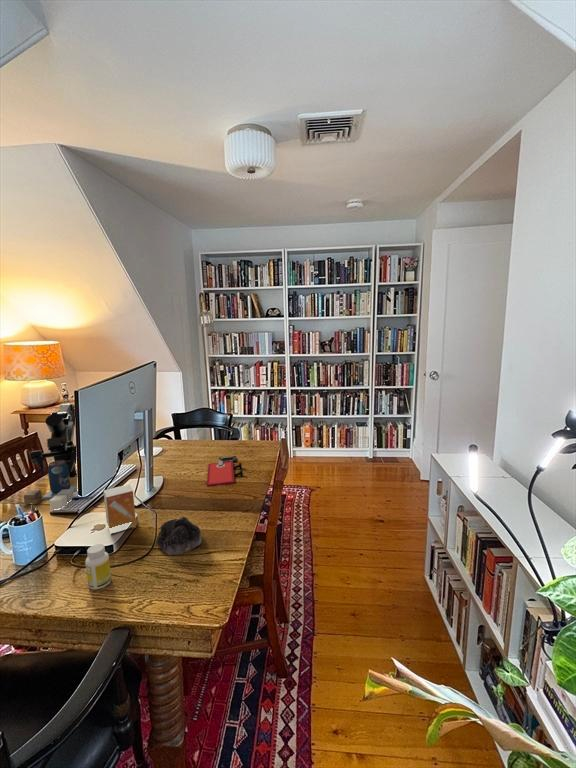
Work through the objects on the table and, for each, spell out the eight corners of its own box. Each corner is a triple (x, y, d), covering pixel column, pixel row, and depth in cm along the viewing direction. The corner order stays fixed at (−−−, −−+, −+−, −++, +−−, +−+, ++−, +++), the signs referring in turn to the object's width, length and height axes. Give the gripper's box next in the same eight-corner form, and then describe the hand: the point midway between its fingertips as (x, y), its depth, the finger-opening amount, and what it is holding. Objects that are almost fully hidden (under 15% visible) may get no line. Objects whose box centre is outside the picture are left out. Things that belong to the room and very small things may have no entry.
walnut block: (31, 500, 143) (29, 490, 143) (42, 499, 144) (40, 489, 143) (24, 505, 140) (23, 495, 139) (36, 504, 140) (34, 494, 139)
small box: (110, 535, 117) (105, 497, 115) (107, 527, 122) (102, 490, 120) (137, 527, 122) (133, 490, 119) (133, 519, 127) (129, 483, 125)
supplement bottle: (115, 575, 99) (111, 541, 97) (106, 589, 93) (101, 554, 92) (94, 576, 98) (90, 542, 97) (84, 591, 93) (79, 555, 91)
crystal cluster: (170, 532, 120) (164, 504, 118) (210, 530, 118) (205, 502, 116) (151, 561, 107) (143, 531, 105) (195, 560, 105) (189, 529, 103)
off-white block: (56, 505, 138) (55, 495, 138) (67, 504, 139) (66, 494, 138) (50, 510, 135) (49, 500, 134) (62, 510, 135) (60, 499, 134)
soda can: (65, 494, 145) (61, 465, 143) (47, 495, 144) (42, 466, 142) (74, 486, 152) (70, 458, 150) (56, 487, 151) (52, 459, 149)
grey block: (63, 499, 143) (62, 489, 143) (74, 498, 144) (72, 488, 143) (58, 504, 139) (56, 494, 139) (69, 503, 140) (67, 493, 139)
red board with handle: (239, 457, 183) (209, 460, 180) (239, 452, 182) (208, 455, 180) (243, 483, 154) (207, 488, 151) (243, 477, 153) (206, 481, 151)
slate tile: (55, 489, 152) (54, 487, 152) (77, 488, 153) (77, 485, 153) (42, 499, 143) (42, 497, 143) (66, 498, 144) (66, 495, 144)
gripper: (26, 431, 144) (22, 468, 136) (80, 425, 151) (80, 460, 143) (34, 445, 153) (31, 480, 144) (85, 438, 159) (85, 472, 151)
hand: (57, 473), depth 145 cm, fingers open, 9 cm apart
